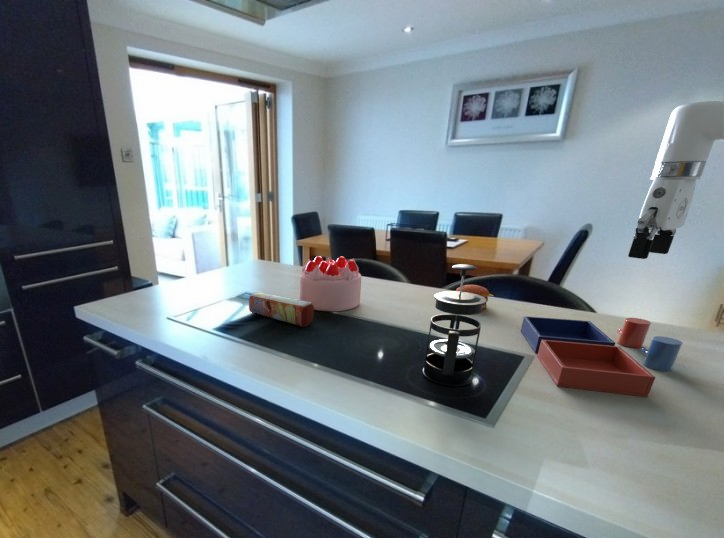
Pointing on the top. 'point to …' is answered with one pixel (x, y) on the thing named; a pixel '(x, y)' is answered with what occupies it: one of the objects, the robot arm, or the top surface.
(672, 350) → the blue cylinder
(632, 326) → the red block
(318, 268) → the cake
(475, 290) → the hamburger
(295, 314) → the snack package
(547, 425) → the top surface
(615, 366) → the red bin
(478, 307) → the french press
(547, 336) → the blue bin
